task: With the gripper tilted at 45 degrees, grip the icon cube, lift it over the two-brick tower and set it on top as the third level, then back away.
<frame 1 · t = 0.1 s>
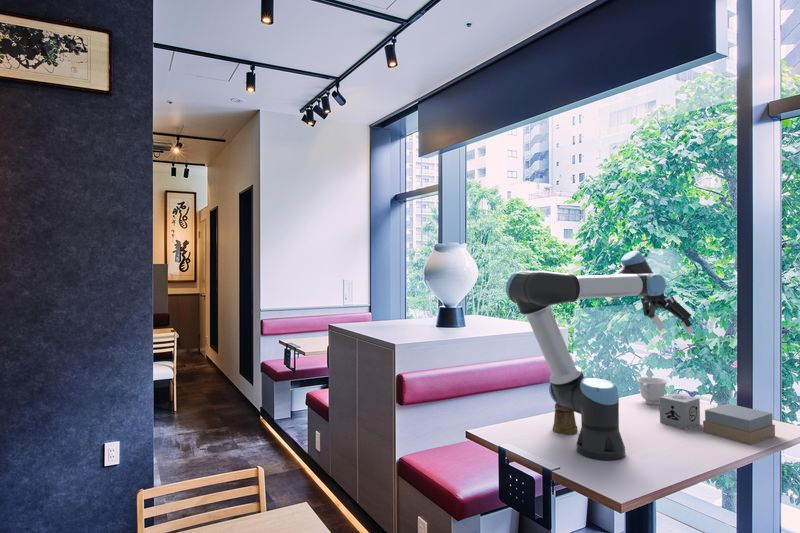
hand: (676, 330, 196), 36 cm above the table, tool tilted 35°, fingers open, 13 cm apart
teacup: (651, 403, 223), on the table
tower base: (738, 433, 183), on the table
wooden mug: (568, 429, 192), on the table
icon cube: (679, 423, 196), on the table
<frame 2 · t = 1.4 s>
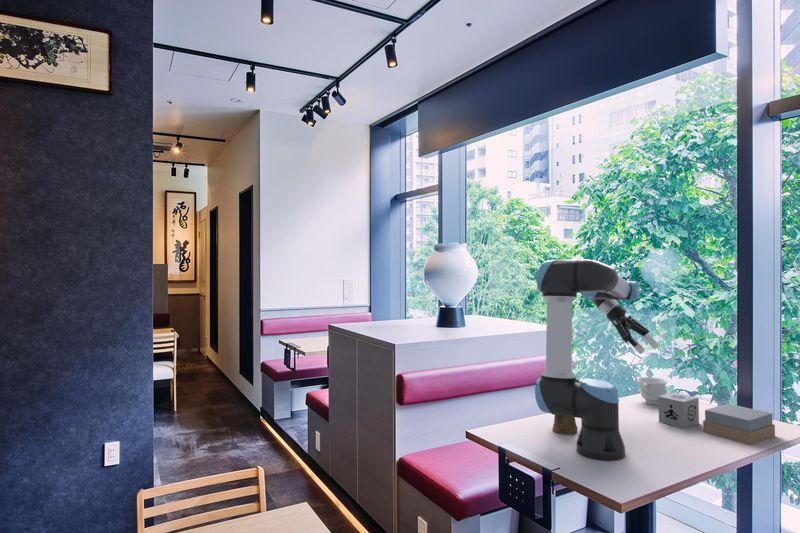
hand: (650, 349, 203), 27 cm above the table, tool tilted 45°, fingers open, 13 cm apart
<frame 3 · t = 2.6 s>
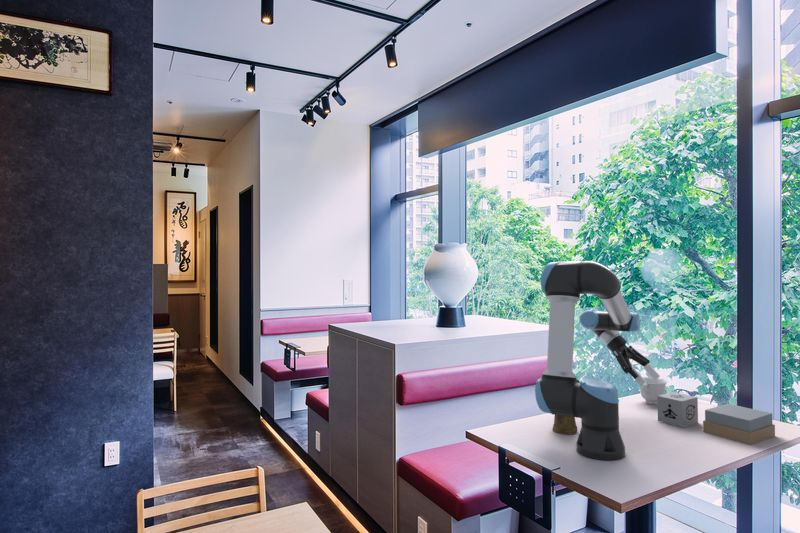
hand: (650, 381, 203), 15 cm above the table, tool tilted 45°, fingers open, 13 cm apart
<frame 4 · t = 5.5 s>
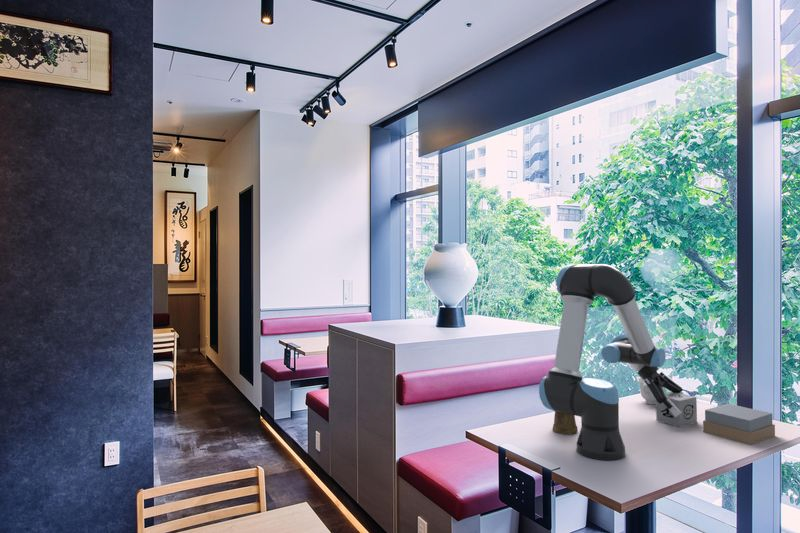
hand: (685, 411, 194), 5 cm above the table, tool tilted 45°, fingers open, 13 cm apart
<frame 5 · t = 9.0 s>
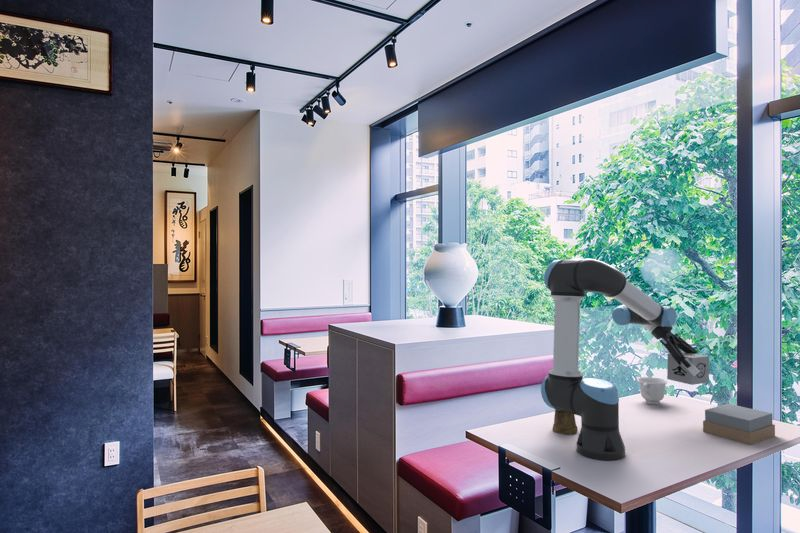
hand: (701, 371, 191), 21 cm above the table, tool tilted 45°, fingers closed on icon cube, 10 cm apart
icon cube: (687, 381, 195), point 16 cm above the table, touching gripper
everything else where it was.
when the fingers open (13 cm above the table, at t = 12.1 s): icon cube drops 1 cm, resting on tower base.
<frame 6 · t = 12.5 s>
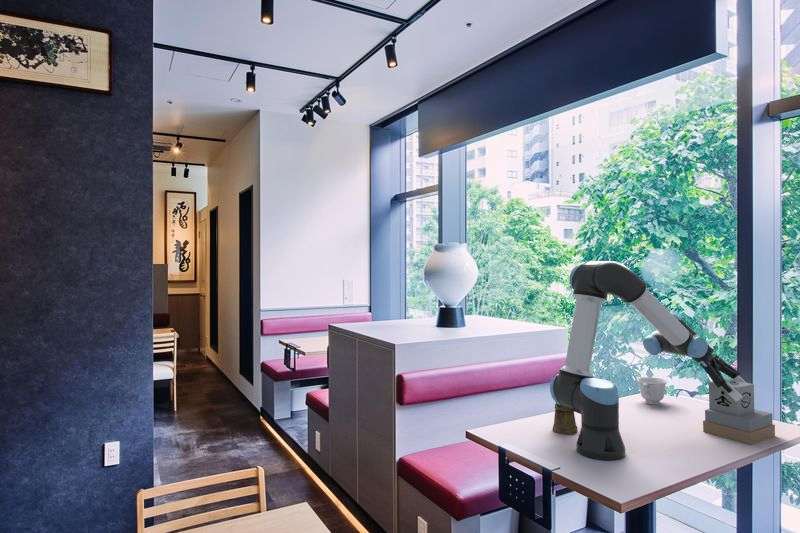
hand: (745, 395, 181), 14 cm above the table, tool tilted 45°, fingers open, 13 cm apart
icon cube: (731, 411, 184), point 8 cm above the table, touching tower base
everything else where it was.
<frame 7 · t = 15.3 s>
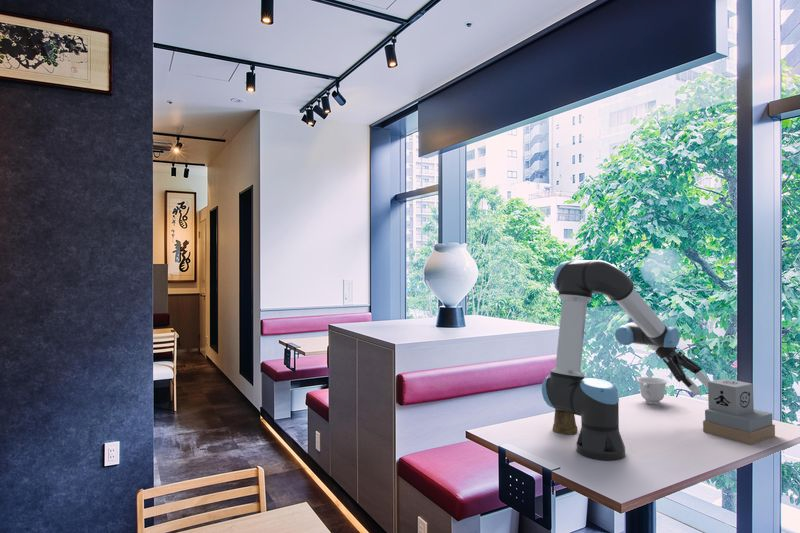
hand: (704, 389, 190), 14 cm above the table, tool tilted 45°, fingers open, 13 cm apart
nothing on the table moved.
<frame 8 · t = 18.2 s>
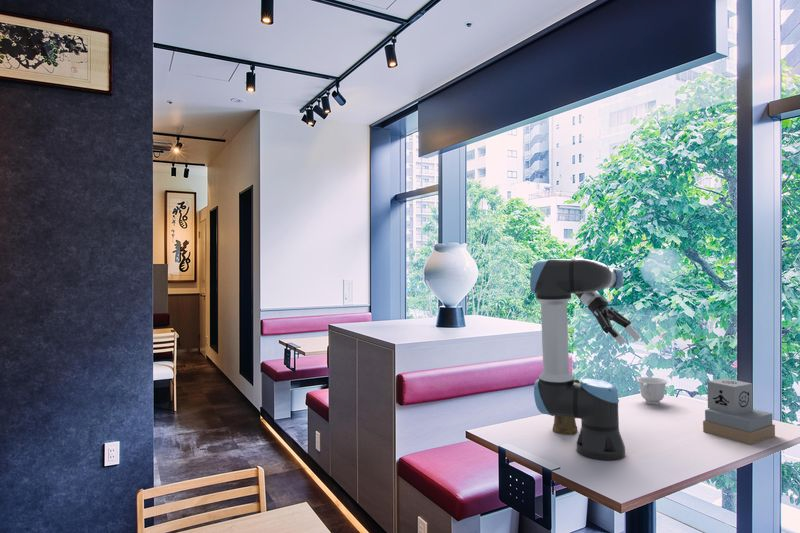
hand: (631, 341, 199), 32 cm above the table, tool tilted 45°, fingers open, 13 cm apart
at the end: icon cube inside the target area on the tower base (3.0 cm from its centre), point 7.8 cm above the tower base's base; icon cube tilted 0°; the gripper is holding nothing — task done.
